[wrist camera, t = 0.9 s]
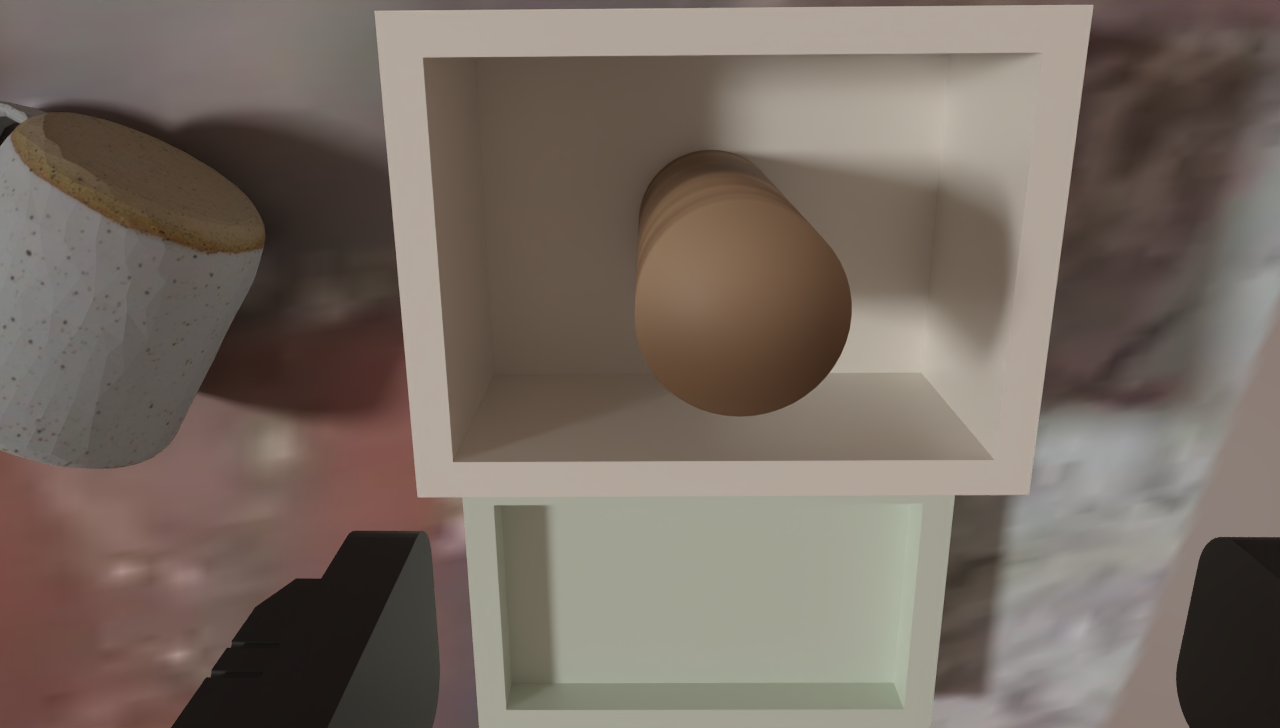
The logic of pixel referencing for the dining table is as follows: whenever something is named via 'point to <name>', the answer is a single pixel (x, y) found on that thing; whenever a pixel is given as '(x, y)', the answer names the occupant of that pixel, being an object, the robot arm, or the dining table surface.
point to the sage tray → (707, 610)
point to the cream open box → (798, 167)
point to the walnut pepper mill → (735, 289)
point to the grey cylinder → (110, 286)
